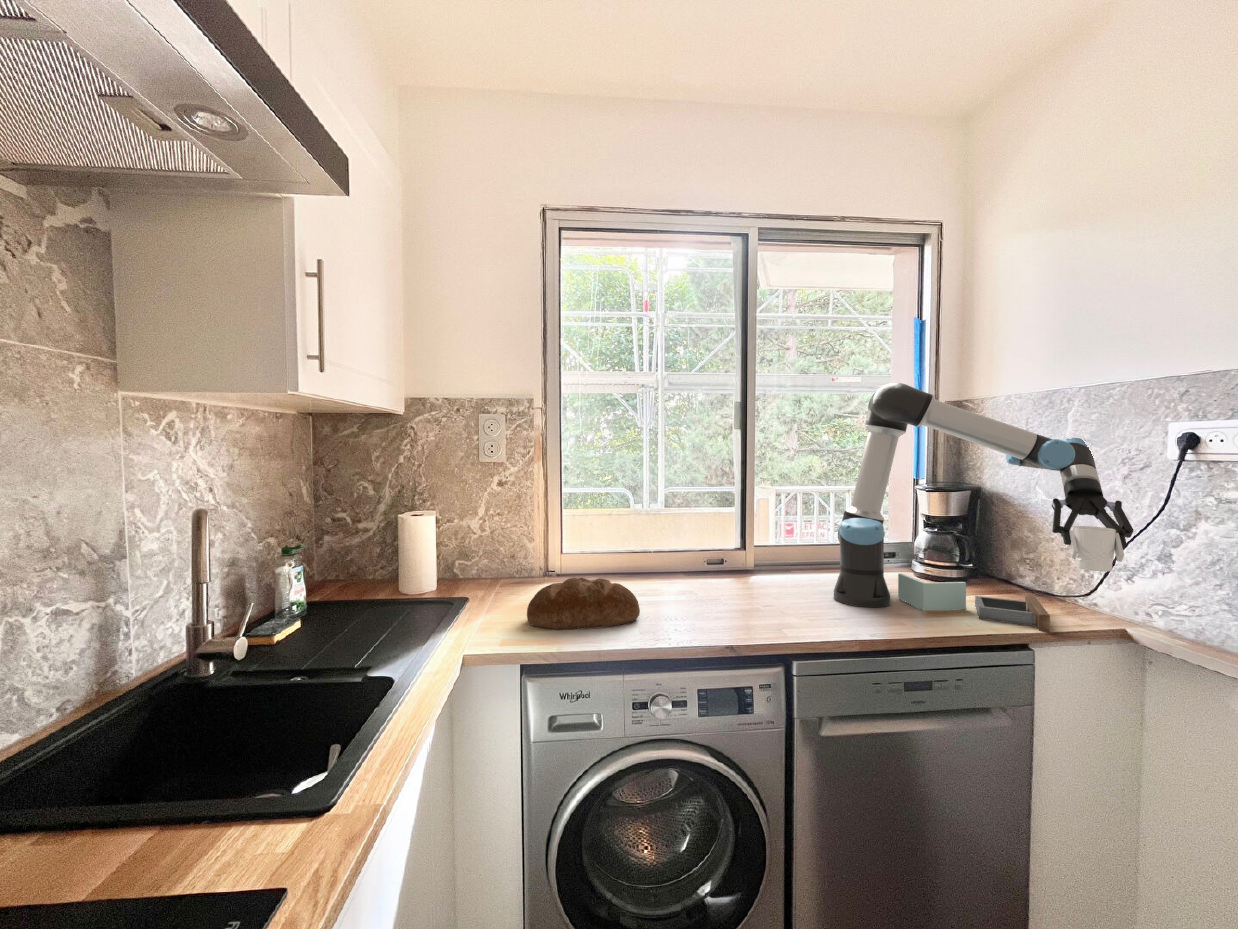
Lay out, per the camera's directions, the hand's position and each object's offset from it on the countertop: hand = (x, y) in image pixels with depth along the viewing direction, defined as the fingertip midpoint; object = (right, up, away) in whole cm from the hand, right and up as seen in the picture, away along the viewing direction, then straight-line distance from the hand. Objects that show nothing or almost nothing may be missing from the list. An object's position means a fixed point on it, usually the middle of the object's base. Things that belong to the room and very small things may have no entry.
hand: (1097, 556), depth 127 cm
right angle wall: (-26, -18, +23) cm, 40 cm away
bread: (-124, -19, +10) cm, 126 cm away
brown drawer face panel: (-8, -18, +9) cm, 21 cm away
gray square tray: (-13, -18, +12) cm, 25 cm away
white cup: (+2, -4, +3) cm, 5 cm away
